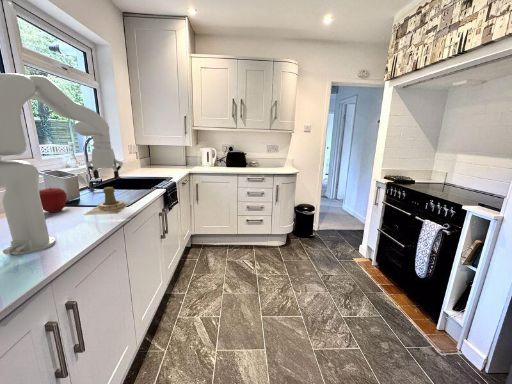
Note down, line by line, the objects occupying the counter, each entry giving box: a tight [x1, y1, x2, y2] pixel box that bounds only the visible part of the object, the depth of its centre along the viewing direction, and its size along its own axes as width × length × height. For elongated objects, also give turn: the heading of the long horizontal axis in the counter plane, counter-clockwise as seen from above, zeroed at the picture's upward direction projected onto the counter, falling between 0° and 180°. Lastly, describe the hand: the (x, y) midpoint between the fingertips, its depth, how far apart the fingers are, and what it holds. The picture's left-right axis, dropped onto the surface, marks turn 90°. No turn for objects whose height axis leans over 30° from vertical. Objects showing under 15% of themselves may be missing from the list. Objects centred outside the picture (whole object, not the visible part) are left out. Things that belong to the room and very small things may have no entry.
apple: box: [39, 187, 68, 214], centre depth 123 cm, size 12×12×13 cm
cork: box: [102, 186, 117, 205], centre depth 129 cm, size 6×6×11 cm
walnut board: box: [83, 201, 132, 216], centre depth 128 cm, size 20×16×1 cm
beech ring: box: [97, 199, 125, 210], centre depth 131 cm, size 12×12×2 cm
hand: (106, 178), depth 127 cm, fingers open, 9 cm apart
